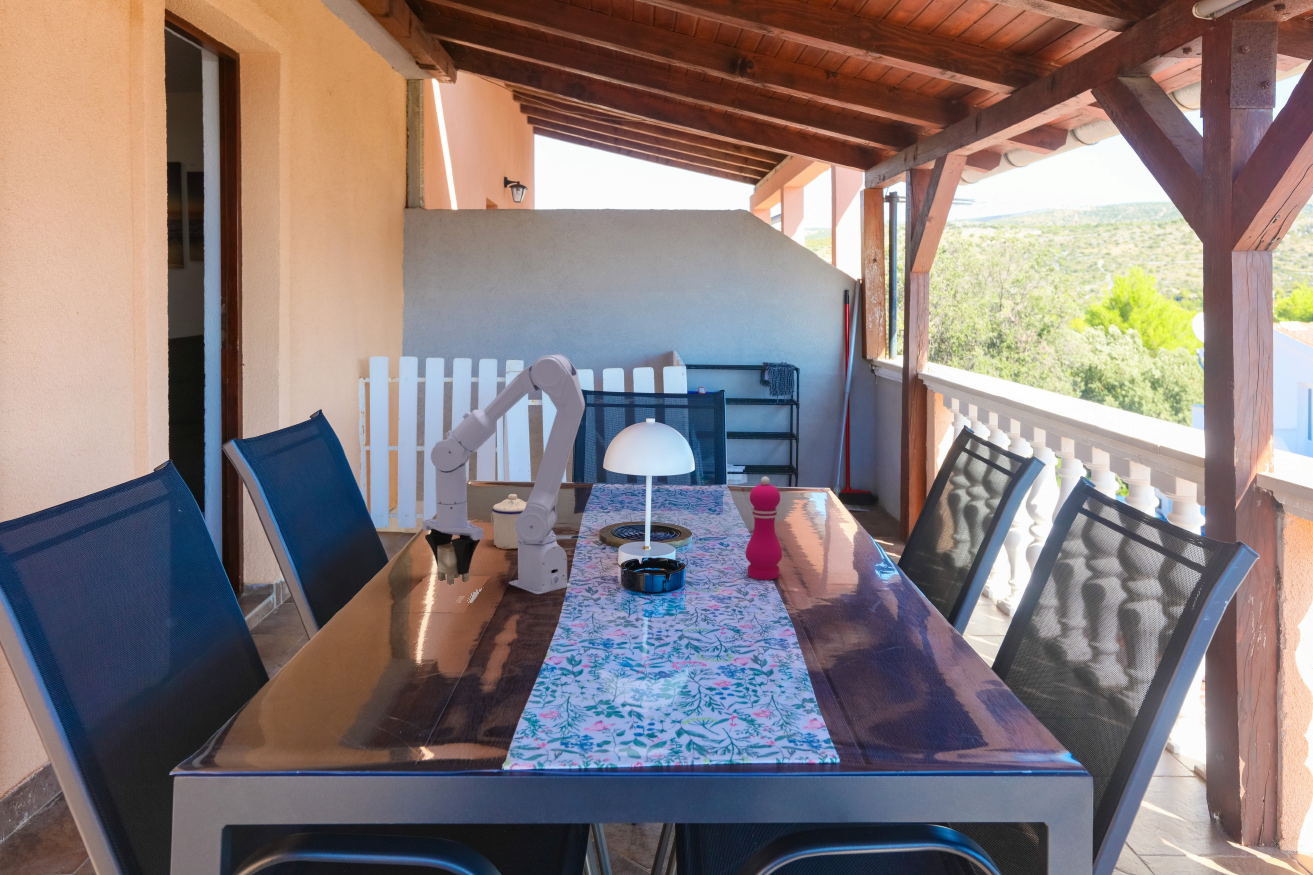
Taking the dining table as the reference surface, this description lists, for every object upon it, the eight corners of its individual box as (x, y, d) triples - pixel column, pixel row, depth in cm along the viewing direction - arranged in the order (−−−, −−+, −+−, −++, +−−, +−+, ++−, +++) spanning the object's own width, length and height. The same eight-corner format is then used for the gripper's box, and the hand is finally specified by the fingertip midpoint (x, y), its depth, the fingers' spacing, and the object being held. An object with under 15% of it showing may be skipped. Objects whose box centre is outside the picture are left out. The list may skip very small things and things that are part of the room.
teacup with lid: (542, 545, 200) (541, 494, 198) (510, 552, 193) (509, 500, 191) (508, 536, 208) (507, 487, 206) (476, 543, 201) (475, 493, 199)
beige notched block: (469, 581, 170) (468, 545, 169) (449, 585, 167) (448, 549, 166) (457, 576, 173) (456, 541, 172) (438, 581, 170) (437, 545, 169)
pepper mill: (780, 581, 172) (782, 480, 170) (743, 579, 174) (745, 479, 171) (782, 571, 179) (785, 474, 177) (747, 569, 181) (748, 472, 178)
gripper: (494, 502, 167) (495, 572, 169) (441, 494, 175) (442, 560, 177) (467, 508, 162) (468, 581, 163) (413, 499, 170) (415, 568, 171)
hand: (453, 571), depth 170 cm, fingers closed on beige notched block, 5 cm apart
